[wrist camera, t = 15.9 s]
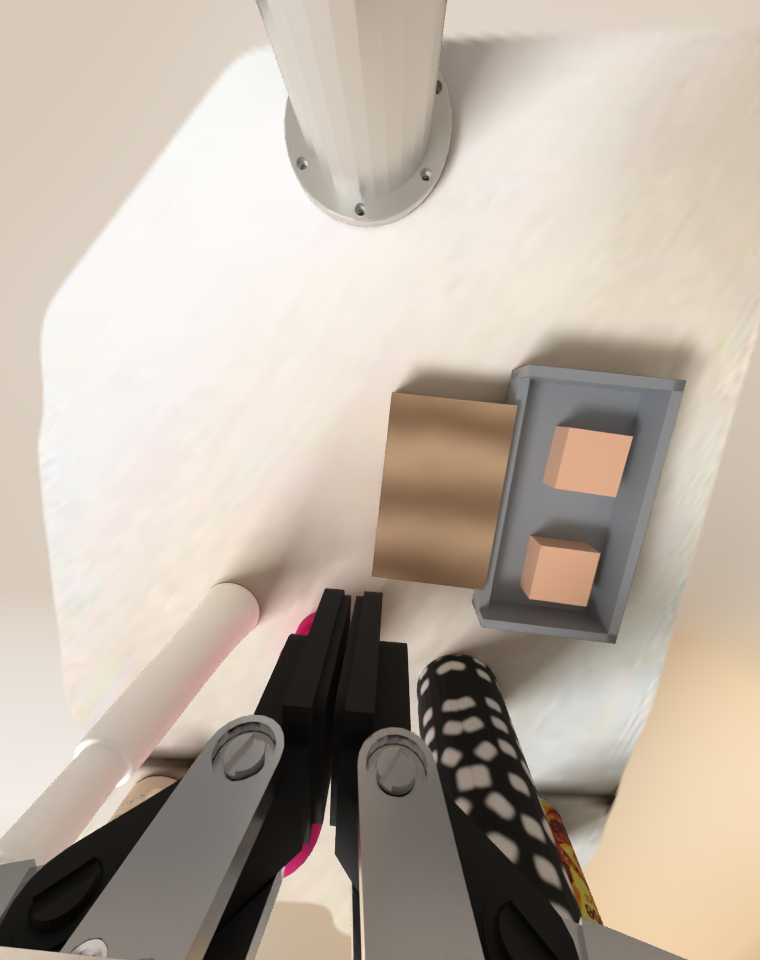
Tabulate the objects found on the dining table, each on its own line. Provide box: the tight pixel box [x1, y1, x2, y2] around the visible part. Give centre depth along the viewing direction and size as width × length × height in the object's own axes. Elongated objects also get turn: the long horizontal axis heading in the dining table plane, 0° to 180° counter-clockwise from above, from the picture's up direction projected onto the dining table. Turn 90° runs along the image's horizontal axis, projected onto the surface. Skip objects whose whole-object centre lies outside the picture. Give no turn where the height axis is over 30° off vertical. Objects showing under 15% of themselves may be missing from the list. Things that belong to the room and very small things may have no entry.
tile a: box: [543, 426, 633, 497], centre depth 30 cm, size 5×5×2 cm
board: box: [372, 392, 517, 590], centre depth 31 cm, size 16×10×3 cm, turn 174°
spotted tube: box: [417, 655, 582, 924], centre depth 27 cm, size 8×8×20 cm
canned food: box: [539, 797, 604, 926], centre depth 34 cm, size 8×8×12 cm
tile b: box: [520, 535, 600, 607], centre depth 32 cm, size 5×5×2 cm
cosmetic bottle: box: [0, 583, 260, 866], centre depth 25 cm, size 6×6×22 cm
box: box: [472, 365, 686, 644], centre depth 30 cm, size 22×12×4 cm, turn 174°
